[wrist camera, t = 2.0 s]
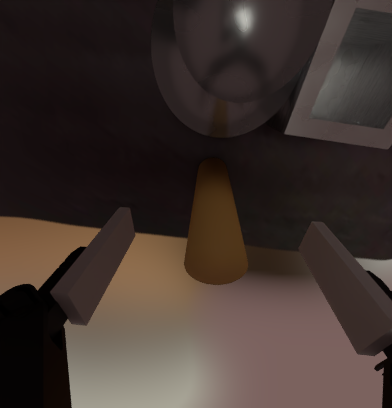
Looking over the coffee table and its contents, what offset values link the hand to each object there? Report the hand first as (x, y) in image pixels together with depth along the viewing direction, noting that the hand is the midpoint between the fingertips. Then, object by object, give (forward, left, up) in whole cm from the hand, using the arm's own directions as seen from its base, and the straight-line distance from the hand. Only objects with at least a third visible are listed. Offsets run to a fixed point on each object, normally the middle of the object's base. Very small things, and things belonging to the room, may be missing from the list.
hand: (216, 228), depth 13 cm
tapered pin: (0, 0, -10) cm, 10 cm away
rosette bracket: (-7, +10, -10) cm, 16 cm away
